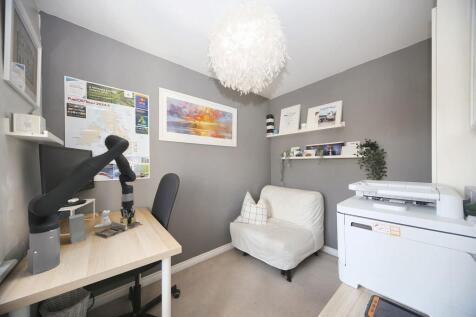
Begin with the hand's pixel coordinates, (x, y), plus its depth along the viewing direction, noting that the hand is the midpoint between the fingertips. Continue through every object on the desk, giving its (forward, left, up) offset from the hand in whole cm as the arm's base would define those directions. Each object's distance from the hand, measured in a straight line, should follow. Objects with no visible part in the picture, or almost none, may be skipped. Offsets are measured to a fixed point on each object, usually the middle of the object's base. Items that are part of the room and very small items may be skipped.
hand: (127, 223), depth 122 cm
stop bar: (0, 0, -1) cm, 2 cm away
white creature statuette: (-5, +19, -3) cm, 20 cm away
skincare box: (-26, +7, -3) cm, 27 cm away
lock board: (-6, 0, -3) cm, 7 cm away
